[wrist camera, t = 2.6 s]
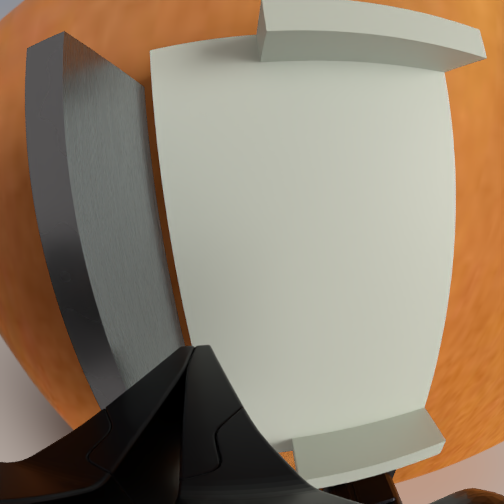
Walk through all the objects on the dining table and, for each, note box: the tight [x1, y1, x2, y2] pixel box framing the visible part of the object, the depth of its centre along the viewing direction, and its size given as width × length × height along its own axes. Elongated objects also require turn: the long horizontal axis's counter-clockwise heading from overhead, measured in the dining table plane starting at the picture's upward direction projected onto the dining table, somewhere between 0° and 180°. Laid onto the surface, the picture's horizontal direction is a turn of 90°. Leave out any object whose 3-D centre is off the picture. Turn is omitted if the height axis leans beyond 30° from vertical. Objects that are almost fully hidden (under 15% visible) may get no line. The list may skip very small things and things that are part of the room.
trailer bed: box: [150, 0, 487, 489], centre depth 12 cm, size 20×12×6 cm, turn 6°
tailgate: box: [25, 31, 185, 410], centre depth 9 cm, size 17×1×6 cm, turn 6°
